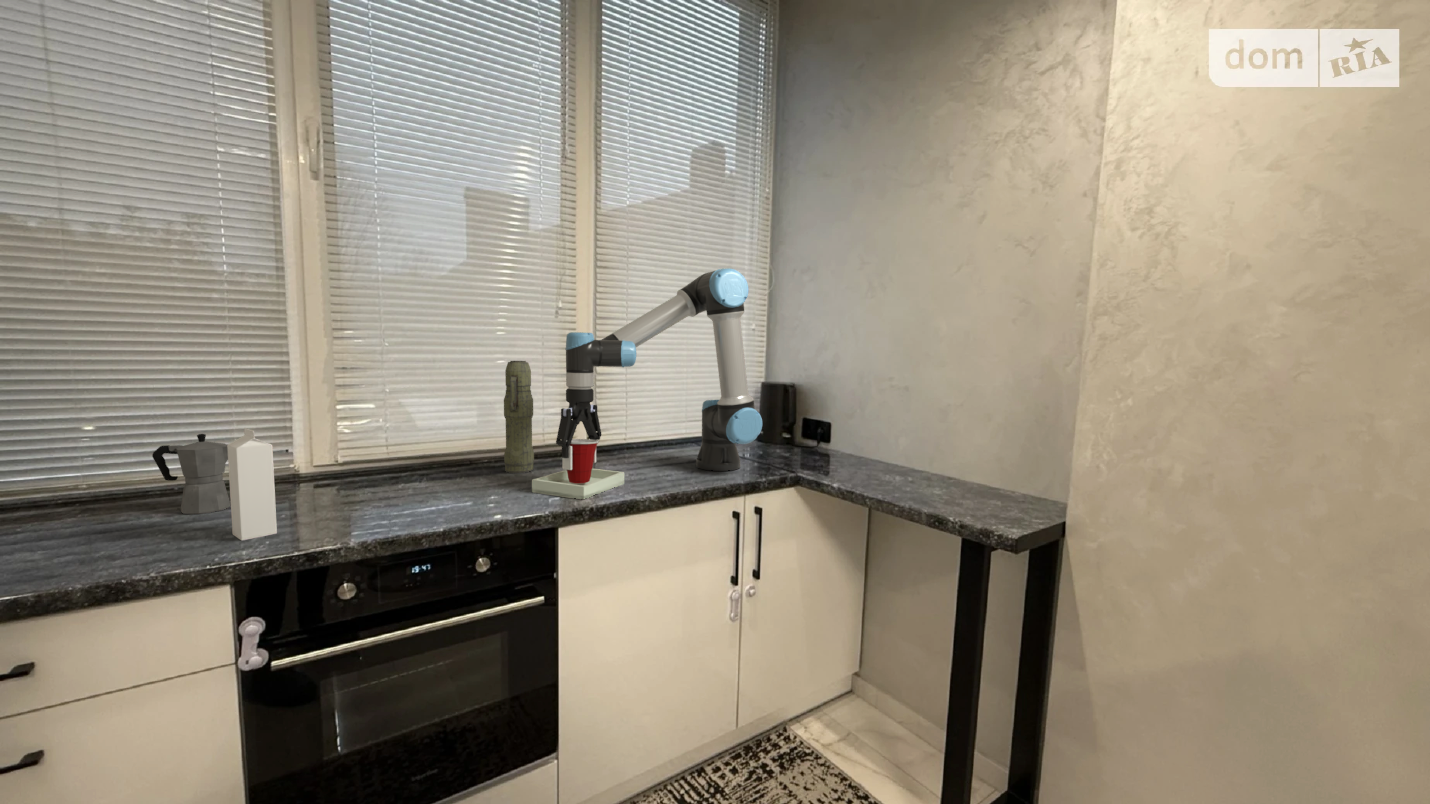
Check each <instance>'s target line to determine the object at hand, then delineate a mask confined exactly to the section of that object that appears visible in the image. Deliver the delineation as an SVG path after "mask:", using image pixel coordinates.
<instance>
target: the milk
mask: <svg viewBox="0 0 1430 804" xmlns="http://www.w3.org/2000/svg"><path fill="white" fill-rule="evenodd" d="M243 431H244V434H243V435H241V436H240V437H238V438H237V439H235V440H233V441H232V442H230V443H228V445H227V449H228V460H227V462H228V480H229V481H228V482H229V496H230V497H229V500H230V505H231V506H230V513H231V530H232V536H235V537H236V538H237V539H238V540H240V541H243V542H244V541H246V540H251V539H257V538H262V537H265V536H271V535H276V534H277V533H278V529H277V526H278V525H277V511H276V507H277V506H276V491H275V470H274V453H273V452H274V450H273V449H274V448H273V444H271V443H269V442H266V441H264V440H261V439H257V438H256V437H255V430H253V429H250V428H246V427H244V430H243Z"/></svg>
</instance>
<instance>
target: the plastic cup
mask: <svg viewBox="0 0 1430 804" xmlns="http://www.w3.org/2000/svg"><path fill="white" fill-rule="evenodd" d="M599 441H600V440H592V439H589V438H572V441H571V444H570V446H572V470H567V474H568V479H569V482H571V483H586V482H589V481H590V478H591V471H592V468H594V467H593V466H594V463H593V461H594V455H595V451H596V452H597V449H596V447H598V444H599ZM566 442H567V441H566Z"/></svg>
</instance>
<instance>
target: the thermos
mask: <svg viewBox="0 0 1430 804" xmlns="http://www.w3.org/2000/svg"><path fill="white" fill-rule="evenodd" d="M531 370H532V369H531V366H530V363H529V362H528V361H526V360H510V361H508V362H507V364H506V367H505V386H506V389H505V395H504V397H503V417H504V419H505V450H504V454H503V456H504V457H503V461H504V462H503V463H504V466H505V467H504V468H505V469H504V472H505V471H506V472H505V473H507V472H509V473H508V474H514V473H516V474H526V473H525V472H528V473H530V472H529V471H531V470H533V469H534V462H535V453H534V448H533V416H534V397H533V395H532V390H531V386H532V371H531ZM533 471H534V470H533ZM531 472H532V471H531Z"/></svg>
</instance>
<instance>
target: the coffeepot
mask: <svg viewBox="0 0 1430 804" xmlns="http://www.w3.org/2000/svg"><path fill="white" fill-rule="evenodd" d="M206 436H207V434H205V433H199V434H196V437H197V440H198V441H197V442H192V443H188V444H185V445H181V444H176V445H175V444H173V445H167V444H166V445H160V446H159V447H157V448H156V449H155V450H154V451H153V452H152V459H153V461H154V462H155V464H156V465H157V468H158V469H159V471H160V473H161V475H162V476H163V478H164V480H165V481H170V482H171V481H177V479H178V478H179V476H178V475H176V476H174V475H171V473H170V468H169V467H168V465H167V463H166V460H165V457H164V456H163V455H165V454H171V455H177V457H178V461H179V465H180V469H181V472H182V475H183V477H184V479H185V481H184V482H185V483H184V485H183V490H182V496H181V497H182V498H181V502H180V511H181V512H182V513H183V515H189V516H190V515H191V516H192V515H203V514H204V515H205V514H211V512H212V513H216V512H215V511H217V512H221V511H225V510H227V509H229V508H231V500H230V497H229V495H228V491H227V487H226V483H225V481H224V473H225V471H226V464H227V462H228V449H227V445H228V444H229V443H228V444H226V443H222V442H215V441H214V442H213V441H206ZM226 508H227V509H226ZM224 509H225V510H224ZM182 513H181V514H182Z"/></svg>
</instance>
